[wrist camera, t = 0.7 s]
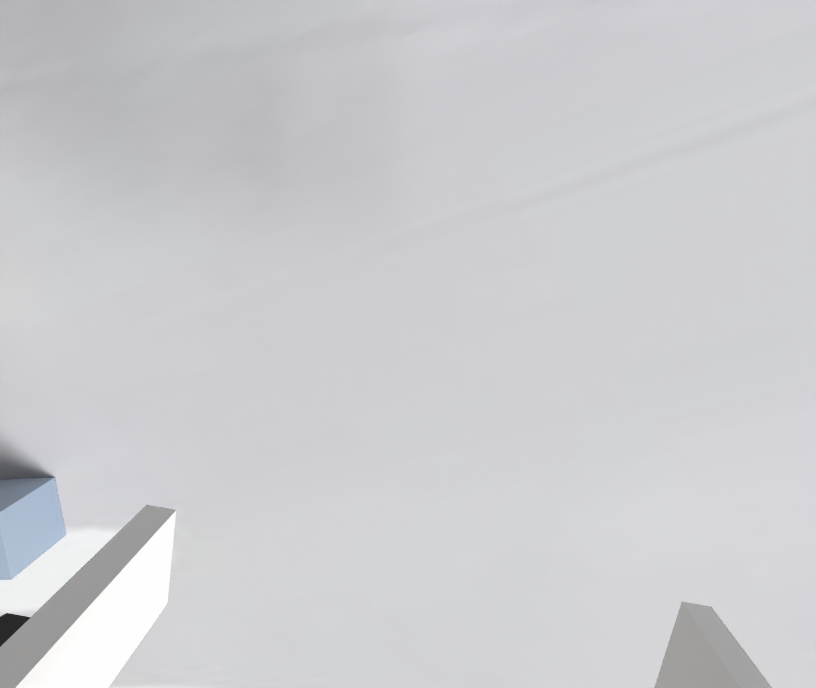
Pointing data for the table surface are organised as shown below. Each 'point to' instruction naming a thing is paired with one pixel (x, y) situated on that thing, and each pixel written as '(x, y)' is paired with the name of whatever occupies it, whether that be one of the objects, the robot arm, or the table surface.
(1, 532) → the slate block
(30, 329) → the table surface
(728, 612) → the table surface
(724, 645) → the robot arm
